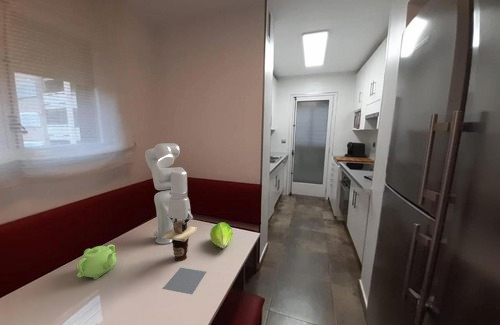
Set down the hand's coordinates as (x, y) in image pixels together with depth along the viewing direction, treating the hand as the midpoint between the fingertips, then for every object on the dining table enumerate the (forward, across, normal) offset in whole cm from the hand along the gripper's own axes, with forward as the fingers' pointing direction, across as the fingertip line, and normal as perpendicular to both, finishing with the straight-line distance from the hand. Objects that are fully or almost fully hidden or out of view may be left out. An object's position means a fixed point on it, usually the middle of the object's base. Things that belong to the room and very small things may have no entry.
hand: (180, 229), depth 100 cm
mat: (+18, +9, -11) cm, 23 cm away
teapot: (+19, -34, -16) cm, 42 cm away
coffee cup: (+19, -2, +3) cm, 19 cm away
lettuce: (+19, +15, +20) cm, 31 cm away
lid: (+2, 0, 0) cm, 2 cm away
